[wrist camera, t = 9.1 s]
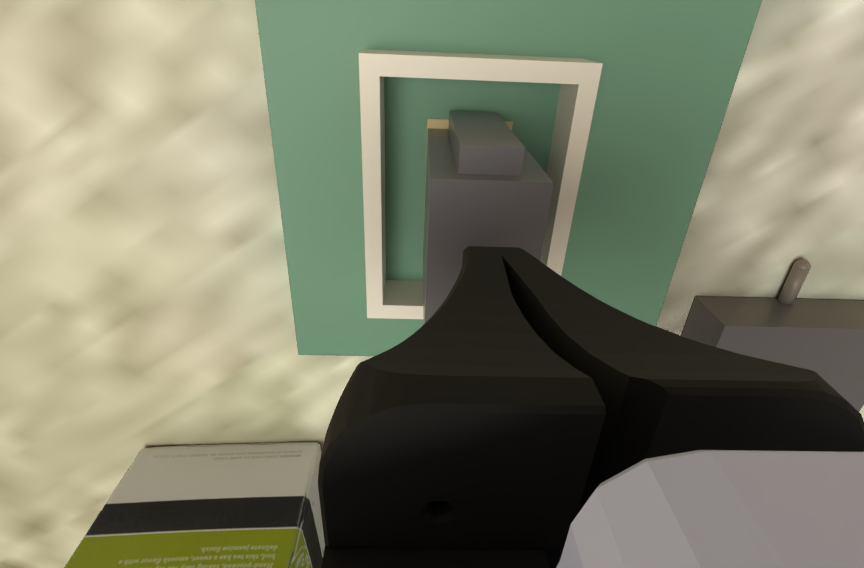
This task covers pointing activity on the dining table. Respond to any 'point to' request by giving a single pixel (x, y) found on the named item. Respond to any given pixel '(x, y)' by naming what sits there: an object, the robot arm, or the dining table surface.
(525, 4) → the board
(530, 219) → the plug
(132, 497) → the tea box
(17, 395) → the dining table surface
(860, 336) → the grey flat block
